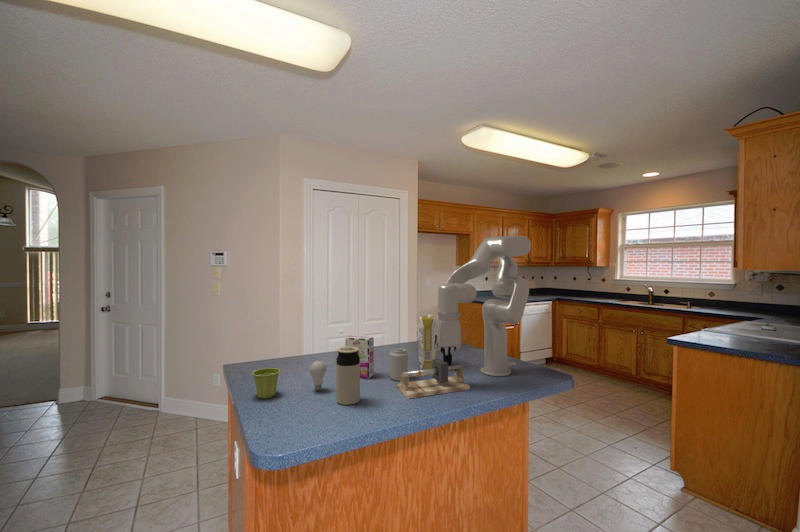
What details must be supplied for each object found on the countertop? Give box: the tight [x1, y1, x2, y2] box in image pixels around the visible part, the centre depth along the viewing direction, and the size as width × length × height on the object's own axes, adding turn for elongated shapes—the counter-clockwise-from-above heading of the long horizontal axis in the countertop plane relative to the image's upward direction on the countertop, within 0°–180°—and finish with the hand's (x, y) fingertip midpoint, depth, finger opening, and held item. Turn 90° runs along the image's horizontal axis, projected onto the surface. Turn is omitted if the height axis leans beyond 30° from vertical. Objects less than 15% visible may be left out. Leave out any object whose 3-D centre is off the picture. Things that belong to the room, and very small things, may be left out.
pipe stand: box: [395, 368, 471, 400], centre depth 137 cm, size 25×12×6 cm, turn 112°
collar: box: [431, 358, 449, 383], centre depth 138 cm, size 3×7×7 cm, turn 22°
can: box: [389, 347, 409, 382], centre depth 149 cm, size 8×8×12 cm
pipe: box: [402, 364, 463, 378], centre depth 137 cm, size 24×2×2 cm, turn 112°
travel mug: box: [335, 346, 361, 406], centre depth 124 cm, size 8×8×18 cm
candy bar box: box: [345, 335, 375, 380], centre depth 152 cm, size 11×5×16 cm, turn 68°
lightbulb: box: [309, 360, 327, 392], centre depth 134 cm, size 6×6×11 cm
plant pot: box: [251, 367, 281, 399], centre depth 130 cm, size 9×9×9 cm
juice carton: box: [418, 314, 437, 370], centre depth 165 cm, size 9×8×24 cm
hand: (447, 364), depth 139 cm, fingers closed
